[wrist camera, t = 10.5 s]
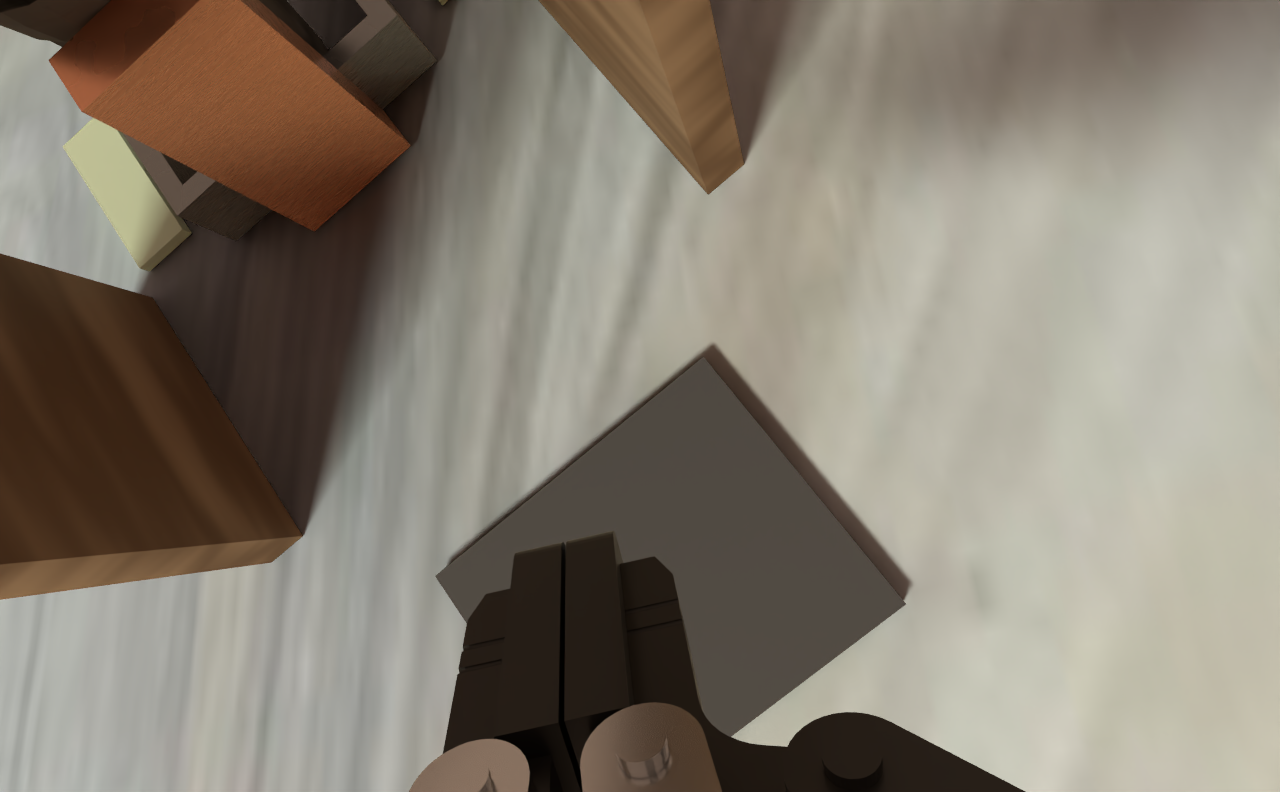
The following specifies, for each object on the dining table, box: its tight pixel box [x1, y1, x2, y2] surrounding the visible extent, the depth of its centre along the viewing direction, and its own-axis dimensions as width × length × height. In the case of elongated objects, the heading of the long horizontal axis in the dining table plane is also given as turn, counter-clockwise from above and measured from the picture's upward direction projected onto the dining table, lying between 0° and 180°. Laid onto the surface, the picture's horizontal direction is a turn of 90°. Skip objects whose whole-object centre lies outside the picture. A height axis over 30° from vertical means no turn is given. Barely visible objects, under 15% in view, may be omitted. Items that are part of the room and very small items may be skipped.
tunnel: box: [0, 0, 744, 600], centre depth 17 cm, size 23×12×27 cm, turn 128°
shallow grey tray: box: [49, 0, 437, 241], centre depth 27 cm, size 11×13×10 cm
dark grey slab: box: [436, 357, 906, 737], centre depth 26 cm, size 12×10×1 cm
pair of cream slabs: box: [63, 0, 448, 271], centre depth 32 cm, size 18×7×1 cm, turn 128°
